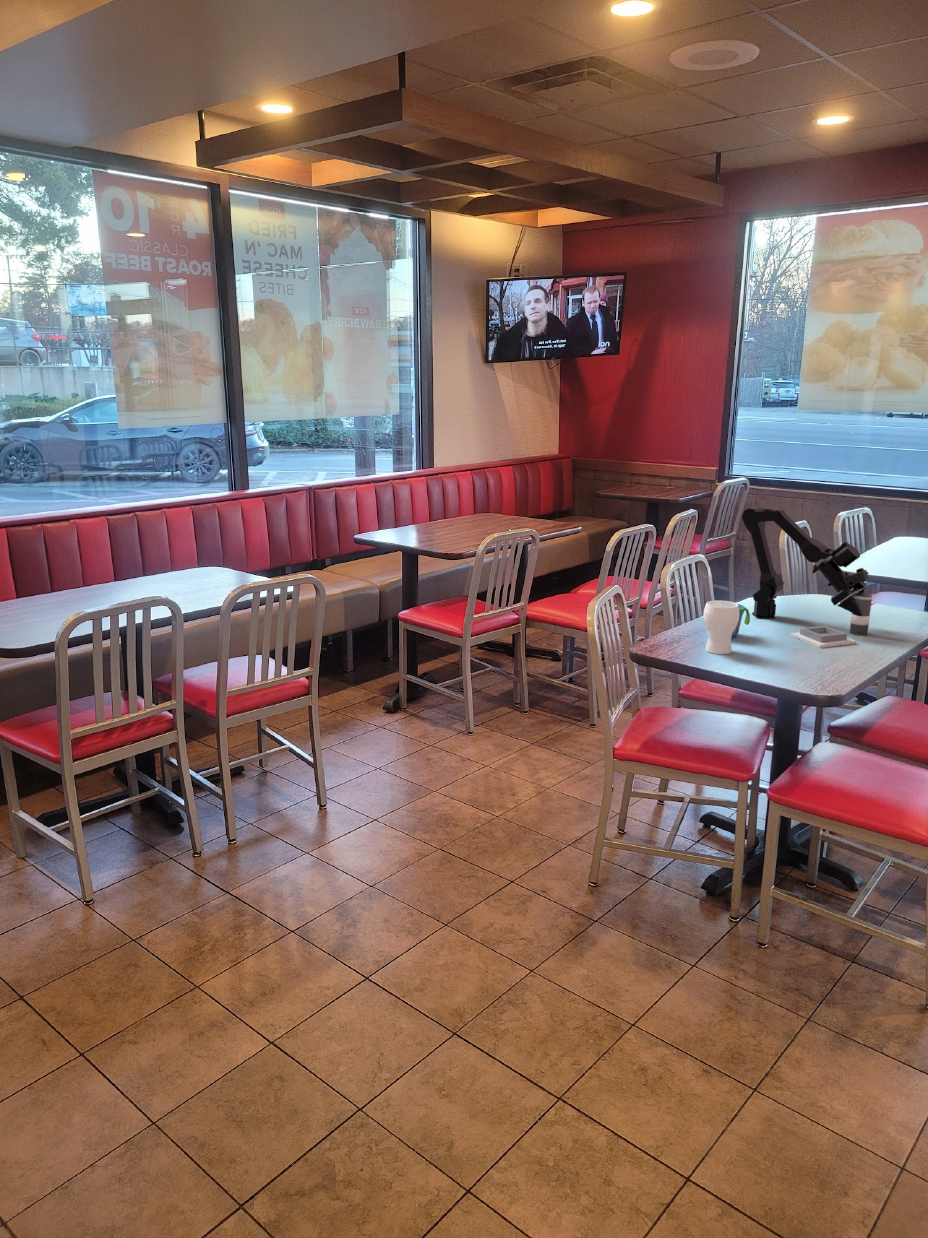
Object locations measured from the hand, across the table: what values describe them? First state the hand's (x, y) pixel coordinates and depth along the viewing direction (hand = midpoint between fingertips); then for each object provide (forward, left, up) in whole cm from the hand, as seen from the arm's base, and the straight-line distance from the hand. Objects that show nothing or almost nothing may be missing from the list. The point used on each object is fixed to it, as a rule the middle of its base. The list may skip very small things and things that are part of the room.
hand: (865, 613), depth 296 cm
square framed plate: (-16, -7, -7) cm, 19 cm away
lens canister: (-1, +1, -7) cm, 7 cm away
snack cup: (-46, -2, -7) cm, 47 cm away
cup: (-53, -19, -7) cm, 57 cm away
